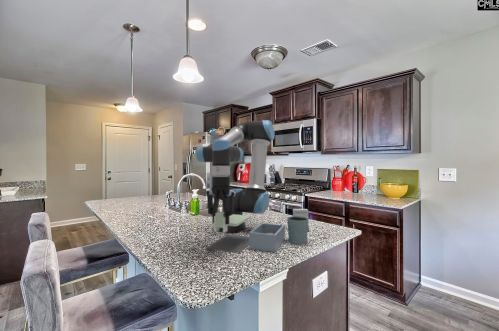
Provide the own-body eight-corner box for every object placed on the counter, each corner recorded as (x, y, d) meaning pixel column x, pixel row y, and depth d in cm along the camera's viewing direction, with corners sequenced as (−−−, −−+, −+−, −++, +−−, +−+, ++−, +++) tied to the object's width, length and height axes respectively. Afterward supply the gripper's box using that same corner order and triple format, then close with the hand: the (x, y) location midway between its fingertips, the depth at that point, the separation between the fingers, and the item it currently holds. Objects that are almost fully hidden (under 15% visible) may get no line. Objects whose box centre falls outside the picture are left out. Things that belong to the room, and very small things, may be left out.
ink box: (307, 228, 145) (307, 208, 145) (308, 231, 141) (308, 210, 140) (292, 228, 146) (292, 208, 146) (293, 230, 141) (293, 209, 141)
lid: (206, 227, 106) (206, 212, 106) (229, 217, 128) (229, 204, 128) (232, 230, 102) (232, 214, 102) (251, 219, 124) (251, 205, 124)
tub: (249, 250, 110) (249, 232, 109) (261, 238, 126) (261, 223, 126) (275, 254, 105) (275, 235, 105) (284, 241, 122) (284, 225, 122)
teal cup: (295, 247, 113) (295, 221, 113) (282, 241, 122) (282, 217, 122) (312, 244, 118) (312, 219, 118) (299, 238, 127) (299, 215, 127)
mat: (206, 250, 110) (206, 247, 110) (227, 236, 131) (227, 234, 131) (239, 254, 105) (239, 252, 105) (256, 239, 125) (256, 237, 125)
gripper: (199, 175, 105) (198, 231, 105) (235, 176, 99) (235, 235, 99) (208, 175, 112) (207, 227, 112) (242, 176, 106) (242, 231, 106)
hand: (220, 231), depth 106 cm, fingers closed on lid, 3 cm apart
